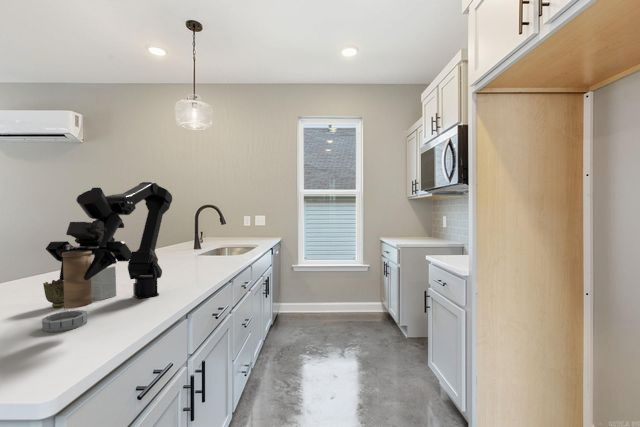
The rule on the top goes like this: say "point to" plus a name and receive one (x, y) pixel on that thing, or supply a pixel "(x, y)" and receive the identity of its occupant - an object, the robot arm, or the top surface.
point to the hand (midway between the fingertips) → (73, 279)
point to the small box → (104, 284)
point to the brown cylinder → (76, 278)
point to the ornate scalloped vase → (55, 293)
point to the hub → (64, 321)
